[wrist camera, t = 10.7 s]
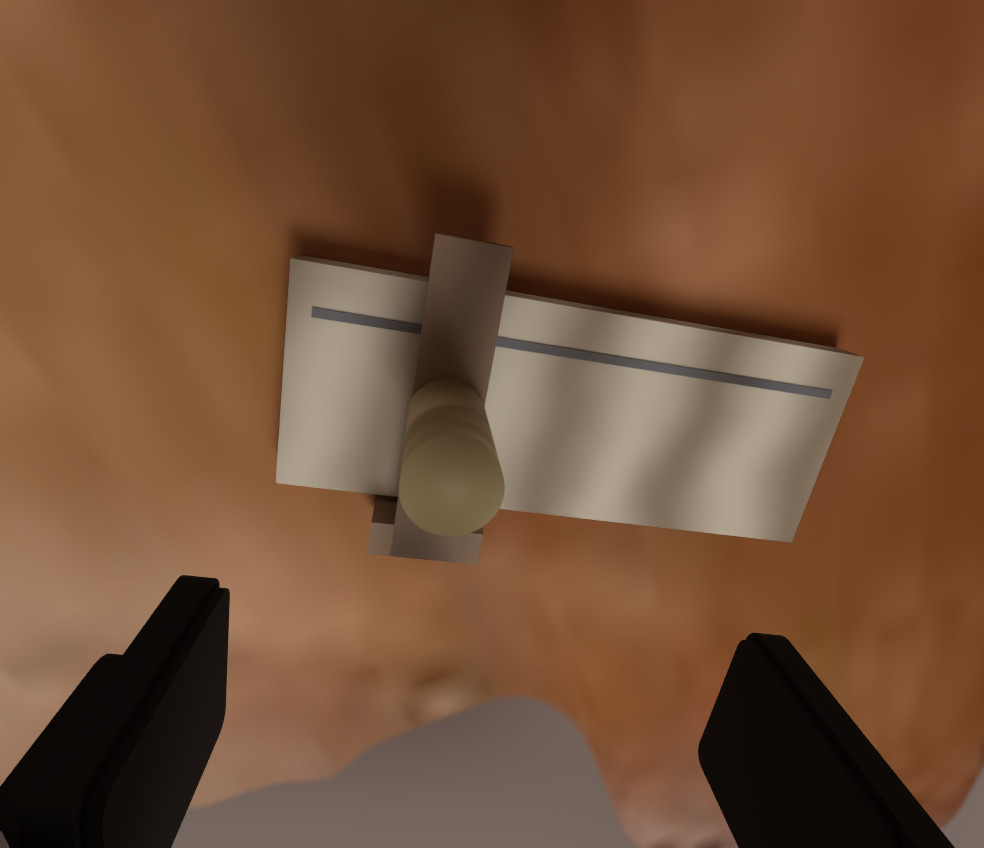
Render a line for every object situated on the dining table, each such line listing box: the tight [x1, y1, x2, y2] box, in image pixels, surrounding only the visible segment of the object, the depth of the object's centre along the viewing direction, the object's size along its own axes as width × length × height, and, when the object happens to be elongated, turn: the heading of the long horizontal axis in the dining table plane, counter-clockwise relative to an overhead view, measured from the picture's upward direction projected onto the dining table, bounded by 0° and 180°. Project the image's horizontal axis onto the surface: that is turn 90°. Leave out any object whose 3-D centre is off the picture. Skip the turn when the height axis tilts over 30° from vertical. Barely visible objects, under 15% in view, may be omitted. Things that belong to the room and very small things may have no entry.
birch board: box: [276, 255, 864, 542], centre depth 28 cm, size 26×10×2 cm, turn 80°
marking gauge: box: [367, 232, 514, 565], centre depth 22 cm, size 5×14×10 cm, turn 170°
